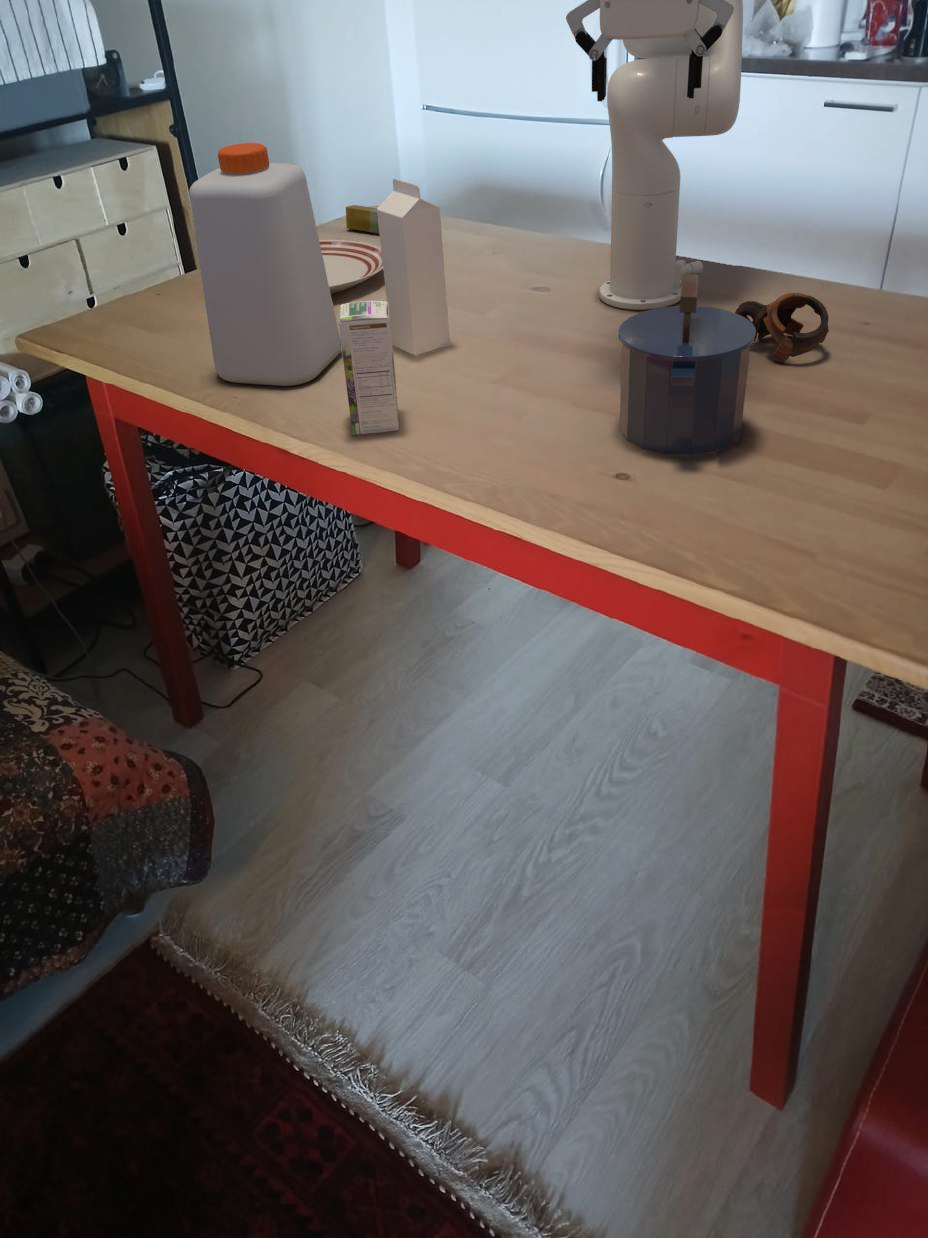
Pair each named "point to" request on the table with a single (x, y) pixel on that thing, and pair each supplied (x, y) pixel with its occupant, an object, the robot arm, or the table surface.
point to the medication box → (362, 218)
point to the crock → (682, 402)
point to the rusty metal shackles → (786, 324)
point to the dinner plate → (349, 262)
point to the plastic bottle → (262, 270)
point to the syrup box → (369, 366)
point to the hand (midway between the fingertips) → (645, 97)
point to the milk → (413, 270)
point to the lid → (687, 330)
